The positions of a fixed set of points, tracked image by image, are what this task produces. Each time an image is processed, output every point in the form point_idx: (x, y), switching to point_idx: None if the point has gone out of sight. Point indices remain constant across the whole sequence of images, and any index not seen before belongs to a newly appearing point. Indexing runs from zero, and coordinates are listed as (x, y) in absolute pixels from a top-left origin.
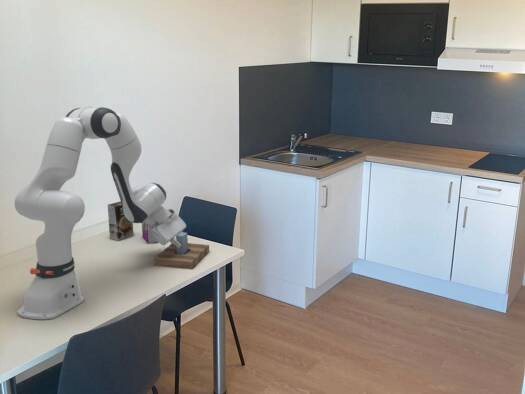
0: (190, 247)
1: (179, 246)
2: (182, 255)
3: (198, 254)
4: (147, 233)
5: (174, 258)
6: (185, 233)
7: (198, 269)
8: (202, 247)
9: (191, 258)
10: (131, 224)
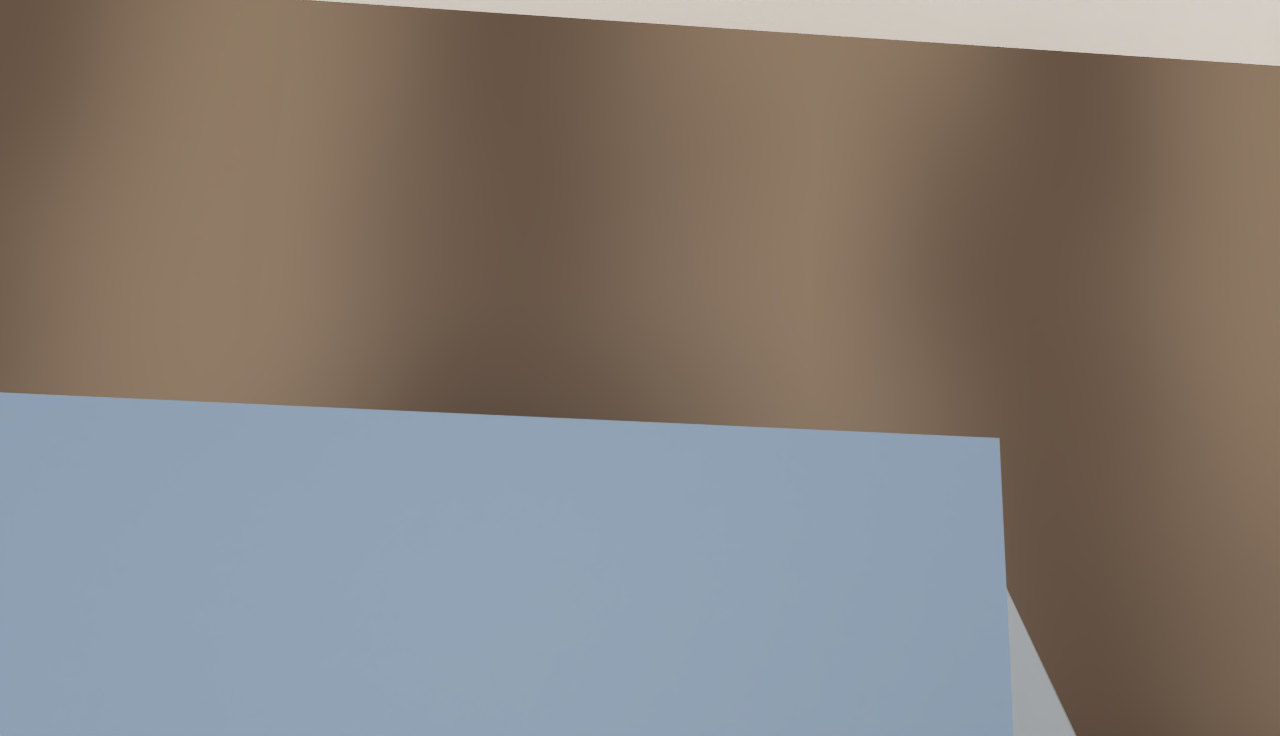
0: None
1: None
2: None
3: (693, 51)
4: None
5: (1240, 707)
6: (145, 485)
7: (1147, 25)
8: (13, 103)
9: (1068, 159)
10: None
